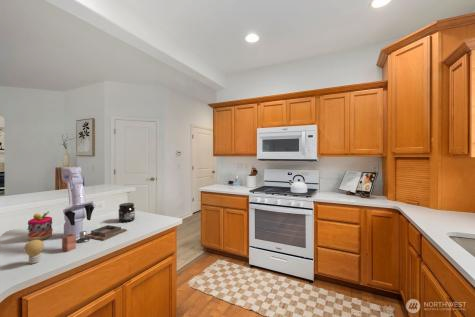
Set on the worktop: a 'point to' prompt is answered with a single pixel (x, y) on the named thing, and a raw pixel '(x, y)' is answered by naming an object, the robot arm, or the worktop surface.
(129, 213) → the supplement container
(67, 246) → the plug block
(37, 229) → the cake
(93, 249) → the worktop surface
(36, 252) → the light bulb
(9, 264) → the worktop surface
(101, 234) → the holder board
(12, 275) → the worktop surface
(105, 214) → the worktop surface
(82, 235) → the metal door knob
